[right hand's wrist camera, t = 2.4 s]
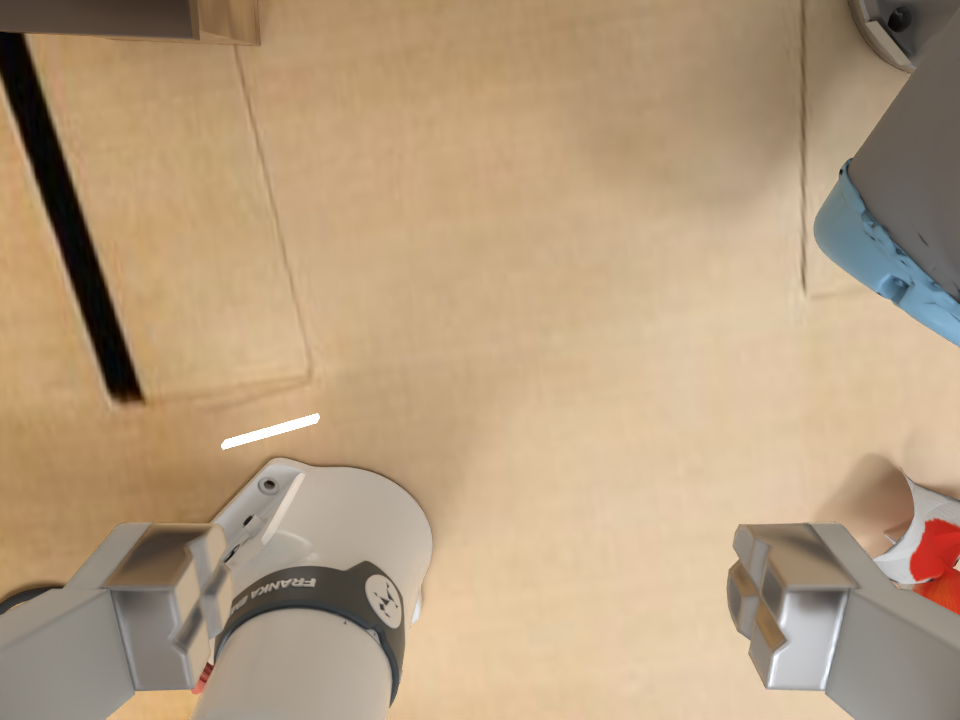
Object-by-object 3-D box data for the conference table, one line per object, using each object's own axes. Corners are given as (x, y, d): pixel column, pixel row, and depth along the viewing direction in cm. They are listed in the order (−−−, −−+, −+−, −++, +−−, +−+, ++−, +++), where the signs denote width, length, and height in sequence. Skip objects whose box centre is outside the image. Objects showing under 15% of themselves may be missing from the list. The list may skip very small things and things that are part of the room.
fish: (836, 662, 55) (957, 710, 45) (810, 469, 56) (922, 476, 46) (934, 636, 58) (1065, 675, 49) (907, 454, 59) (1029, 458, 50)
